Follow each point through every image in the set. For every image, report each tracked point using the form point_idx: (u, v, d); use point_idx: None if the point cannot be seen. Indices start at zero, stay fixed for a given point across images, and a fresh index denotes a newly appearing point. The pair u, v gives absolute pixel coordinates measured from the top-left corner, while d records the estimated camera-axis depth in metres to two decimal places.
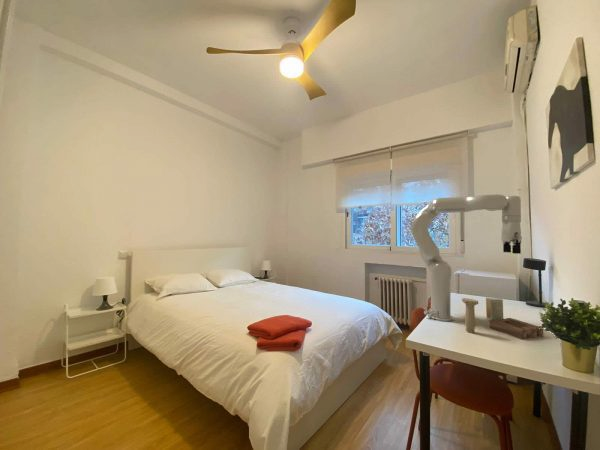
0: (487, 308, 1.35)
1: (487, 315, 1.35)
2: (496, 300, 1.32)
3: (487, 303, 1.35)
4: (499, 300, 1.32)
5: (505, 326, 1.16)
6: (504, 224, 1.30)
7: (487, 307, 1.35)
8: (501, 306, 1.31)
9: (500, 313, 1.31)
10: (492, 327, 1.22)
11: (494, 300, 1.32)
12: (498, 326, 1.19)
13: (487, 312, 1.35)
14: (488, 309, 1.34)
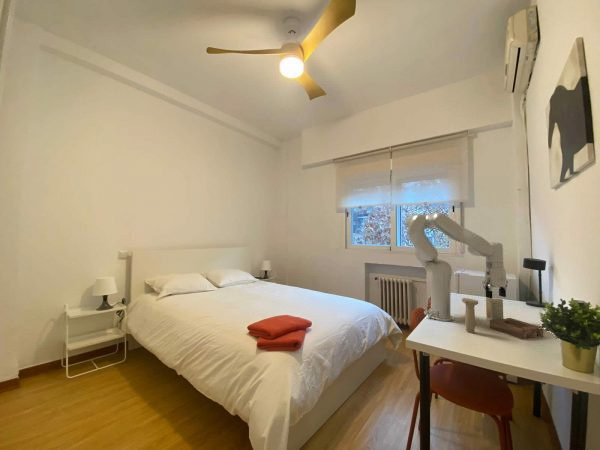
0: (487, 308, 1.35)
1: (487, 315, 1.35)
2: (496, 300, 1.32)
3: (487, 303, 1.35)
4: (499, 300, 1.32)
5: (505, 326, 1.16)
6: (499, 270, 1.32)
7: (487, 307, 1.35)
8: (501, 306, 1.31)
9: (500, 313, 1.31)
10: (492, 327, 1.22)
11: (494, 300, 1.32)
12: (498, 326, 1.19)
13: (487, 312, 1.35)
14: (488, 309, 1.34)
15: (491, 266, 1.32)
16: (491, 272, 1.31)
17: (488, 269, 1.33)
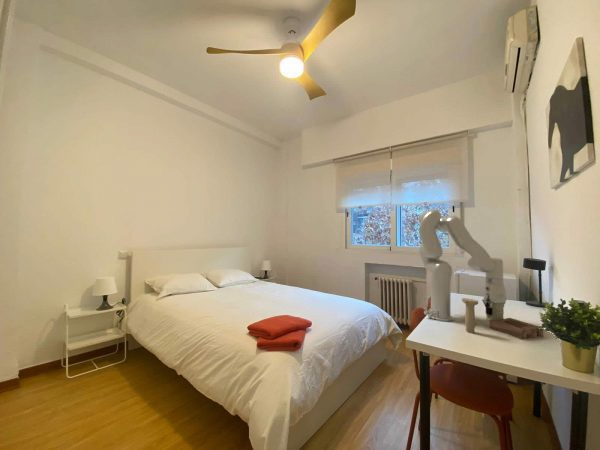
0: None
1: (487, 315, 1.35)
2: None
3: None
4: None
5: (505, 326, 1.16)
6: (498, 286, 1.31)
7: None
8: (501, 306, 1.31)
9: (500, 313, 1.31)
10: (492, 327, 1.22)
11: None
12: (498, 326, 1.19)
13: None
14: None
15: (491, 282, 1.32)
16: (490, 288, 1.31)
17: (488, 285, 1.33)
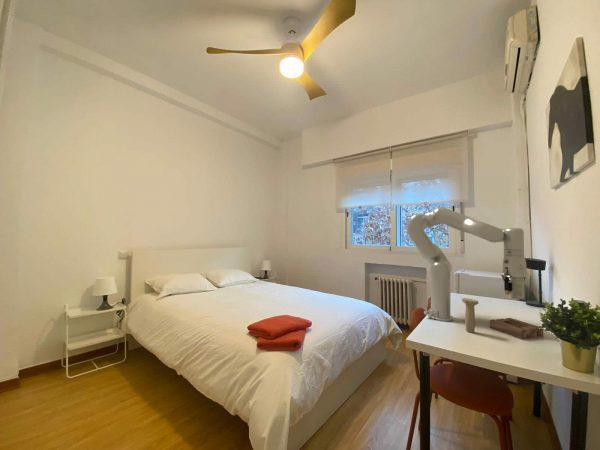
0: None
1: (506, 291, 1.21)
2: None
3: None
4: None
5: (505, 326, 1.16)
6: (519, 258, 1.17)
7: None
8: (522, 281, 1.17)
9: (521, 288, 1.17)
10: (492, 327, 1.22)
11: None
12: (498, 326, 1.19)
13: None
14: None
15: (510, 254, 1.18)
16: (510, 260, 1.17)
17: (507, 257, 1.19)
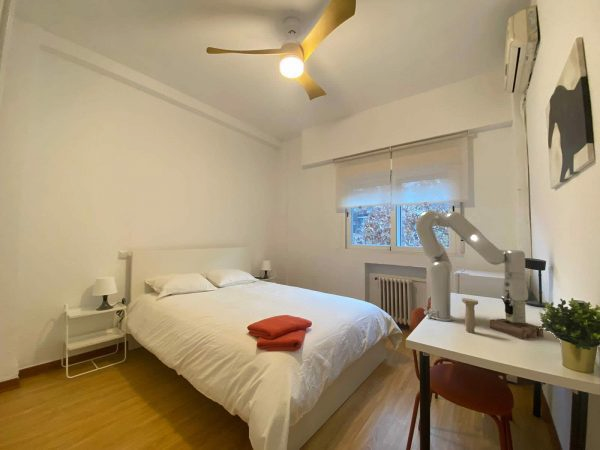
0: None
1: (506, 314, 1.20)
2: None
3: None
4: None
5: (505, 326, 1.16)
6: (520, 281, 1.16)
7: None
8: (523, 304, 1.16)
9: (522, 312, 1.16)
10: (492, 327, 1.22)
11: None
12: (498, 326, 1.19)
13: None
14: None
15: (511, 277, 1.17)
16: (511, 284, 1.16)
17: (507, 280, 1.18)
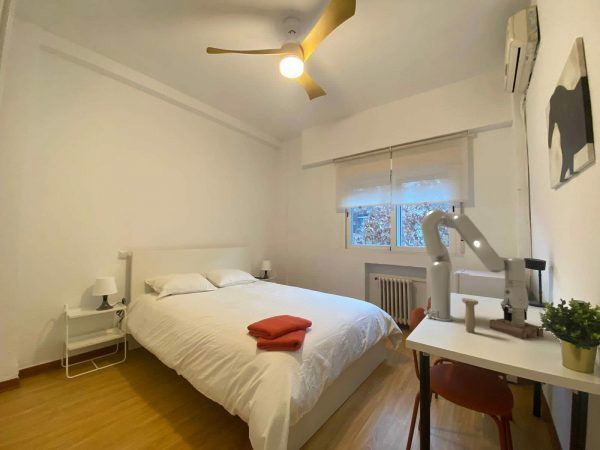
0: None
1: None
2: None
3: None
4: None
5: (505, 326, 1.16)
6: (520, 289, 1.16)
7: None
8: (522, 315, 1.16)
9: (521, 323, 1.16)
10: (492, 327, 1.22)
11: None
12: (498, 326, 1.19)
13: (506, 322, 1.19)
14: None
15: (511, 285, 1.17)
16: (511, 292, 1.16)
17: (508, 288, 1.18)
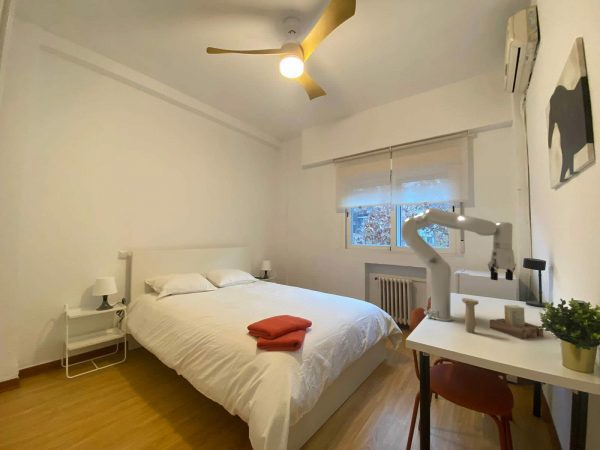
0: (506, 317, 1.19)
1: None
2: (517, 308, 1.17)
3: (506, 312, 1.19)
4: (520, 308, 1.16)
5: (505, 326, 1.16)
6: (506, 251, 1.24)
7: (506, 316, 1.19)
8: (522, 315, 1.16)
9: (521, 323, 1.16)
10: (492, 327, 1.22)
11: (514, 308, 1.17)
12: (498, 326, 1.19)
13: (506, 322, 1.19)
14: (507, 319, 1.19)
15: (498, 247, 1.25)
16: (498, 253, 1.24)
17: (495, 250, 1.26)
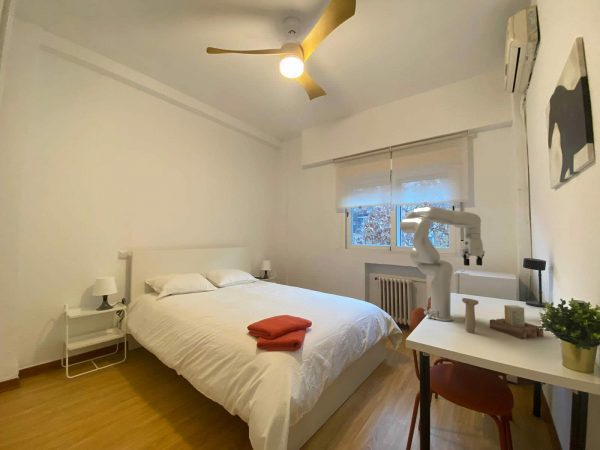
0: (506, 317, 1.19)
1: None
2: (517, 308, 1.16)
3: (506, 312, 1.19)
4: (520, 308, 1.16)
5: (505, 326, 1.16)
6: (476, 240, 1.45)
7: (506, 316, 1.19)
8: (522, 315, 1.16)
9: (521, 323, 1.16)
10: (492, 327, 1.22)
11: (514, 308, 1.17)
12: (498, 326, 1.19)
13: (506, 322, 1.19)
14: (507, 319, 1.19)
15: (469, 237, 1.46)
16: (469, 242, 1.45)
17: (466, 239, 1.47)
